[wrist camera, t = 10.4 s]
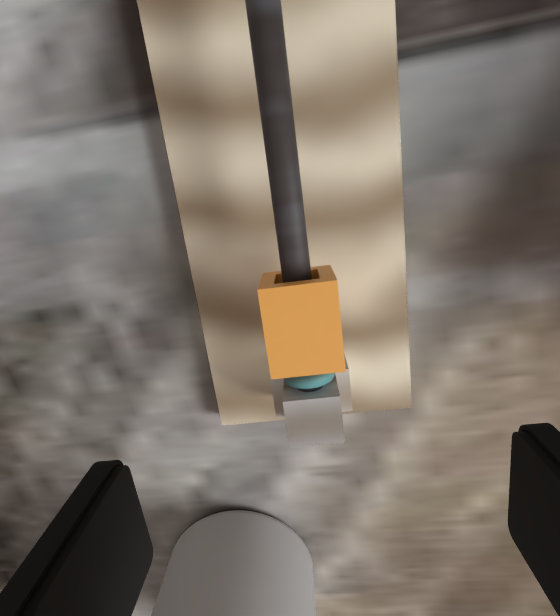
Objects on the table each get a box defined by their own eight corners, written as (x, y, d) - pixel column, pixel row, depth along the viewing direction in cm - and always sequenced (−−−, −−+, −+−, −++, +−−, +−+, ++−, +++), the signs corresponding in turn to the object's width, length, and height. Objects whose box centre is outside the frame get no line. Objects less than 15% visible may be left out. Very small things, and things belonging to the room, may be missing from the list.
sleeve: (263, 272, 24) (257, 289, 20) (330, 264, 23) (337, 280, 20) (274, 349, 25) (271, 379, 21) (337, 343, 25) (345, 371, 21)
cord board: (134, -47, 23) (34, -193, 14) (383, -93, 22) (445, -282, 13) (225, 414, 31) (198, 504, 22) (406, 396, 30) (451, 483, 22)
